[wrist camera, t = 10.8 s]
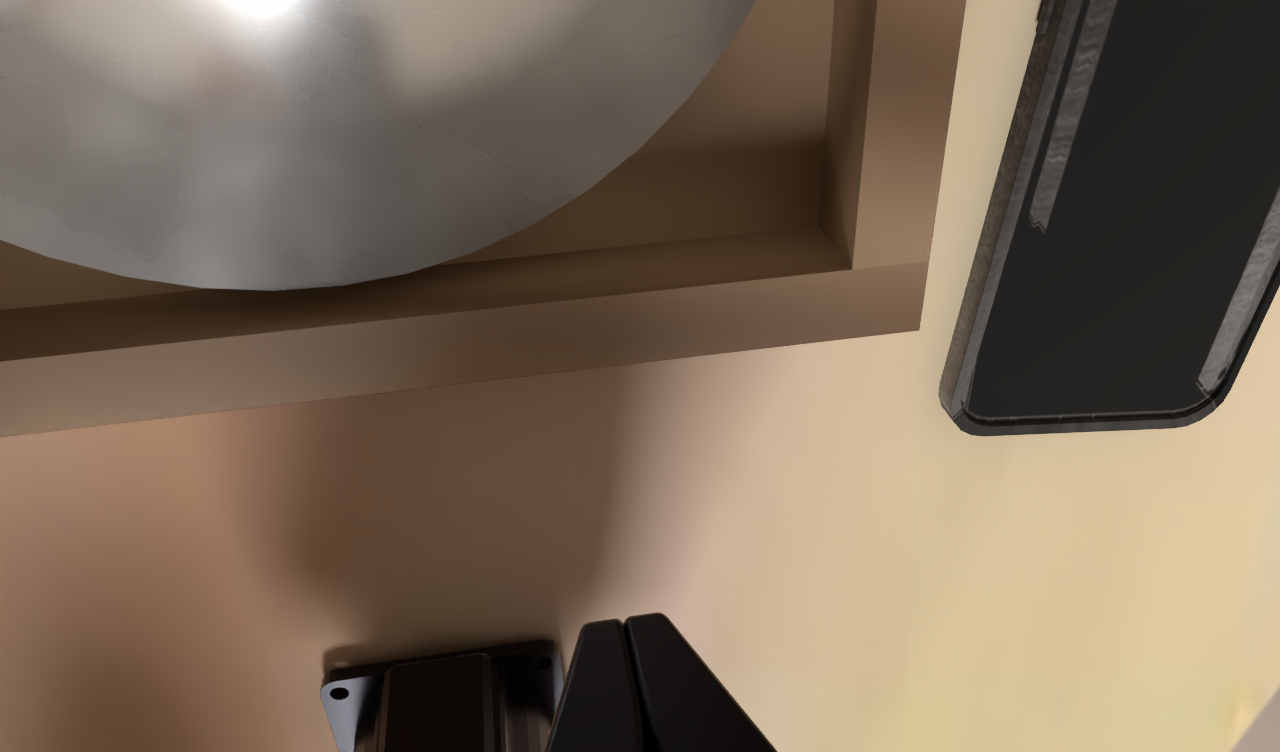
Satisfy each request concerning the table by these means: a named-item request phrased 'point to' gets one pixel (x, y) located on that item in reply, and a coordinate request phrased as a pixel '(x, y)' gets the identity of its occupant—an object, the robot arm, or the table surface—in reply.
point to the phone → (1126, 222)
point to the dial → (324, 126)
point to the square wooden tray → (565, 251)
